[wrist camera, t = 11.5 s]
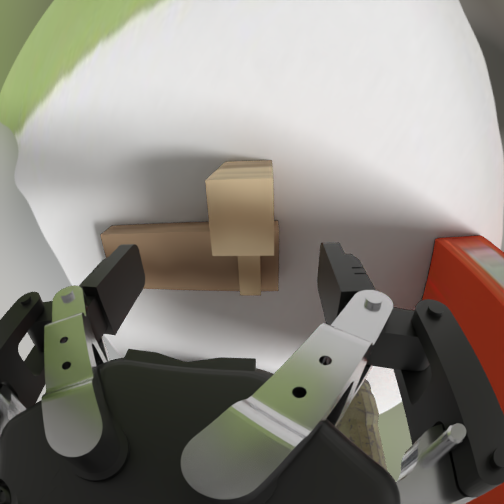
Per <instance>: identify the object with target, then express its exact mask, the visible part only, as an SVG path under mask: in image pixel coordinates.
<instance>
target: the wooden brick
mask: <svg viewBox="0 0 504 504" xmlns="http://www.w3.org/2000/svg"><path fill="white" fill-rule="evenodd" d="M205 184H206V195H207V206H208V217H209V227H210V237H211V246H212V255H213V256H238V270H239V284H240V295H261V263H260V256H274V191H273V169H272V160H259V161H230V162H224V163H223V164H222V165H221V166H220V167H219V168H218V169H217V170H216V171H215V172H214V173H213V174H212V175H211V176H209V177H208V178H207V179H206V180H205Z"/></svg>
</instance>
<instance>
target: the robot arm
mask: <svg viewBox="0 0 504 504" xmlns="http://www.w3.org/2000/svg"><path fill="white" fill-rule="evenodd" d="M317 282H318V291H319V295H320V299H321V303H322V307H323V311H324V316H325V320H326V323H322V324H321V325H320V326H319V327H318V328H317V329H316V330H315V331H314V332H313V333H312V334H311V336H310V337H309V338H308V339H307V340H306V341H305V342H304V343H303V344H302V345H301V346H300V348H299V349H298V350H297V351H296V352H295V353H294V354H293V355H292V356H291V357H290V358H289V359H288V360H287V361H286V362H285V363H284V364H283V365H282V366H281V367H280V368H279V369H278V370H277V371H276V372H275V374H272V373H270V372H267V371H264V370H260V369H256V359H251V358H215V359H208V360H200V361H192V362H184V361H180V360H177V359H174V358H171V357H168V356H165V355H162V354H159V353H156V352H148V351H140V350H133V349H128V351H127V353H126V355H125V357H124V358H119V359H115V360H110V358H109V355H108V352H107V348H106V345H105V341H104V339H103V337H102V336H103V334H111V335H116V333H117V331H118V329H119V328H120V326H121V324H122V323H123V321H124V319H125V317H126V316H127V314H128V312H129V311H130V309H131V307H132V306H133V304H134V302H135V301H136V299H137V298H138V296H139V294H140V293H141V291H142V290H143V288H144V285H145V273H144V269H143V265H142V261H141V256H140V252H139V248H138V246H137V245H136V244H123V245H120V246H118V248H117V249H116V250H115V251H114V252H113V253H112V254H111V255H110V256H109V257H107V258H105V259H104V260H102V261H101V262H100V264H99V265H98V266H97V268H95V269H94V270H93V271H92V273H90V274H89V275H88V277H87V278H86V279H85V280H84V281H83V282H82V283H81V284H80V285H79V286H70V287H66V288H64V289H62V290H60V291H59V292H58V293H56V295H55V296H54V298H53V301H49V302H42V300H41V297H40V295H39V293H37V292H30V293H27V294H25V295H23V296H22V297H20V298H19V299H18V300H17V301H16V302H15V303H14V305H13V306H12V307H11V308H10V309H9V310H8V311H7V313H6V314H5V315H4V316H3V317H2V319H1V320H0V504H466V503H468V502H470V501H472V500H474V499H476V498H478V497H479V496H481V495H483V494H485V493H487V492H489V491H490V490H492V489H494V488H495V487H497V486H499V485H500V484H502V483H504V414H503V411H502V409H501V407H500V404H499V402H498V399H497V397H496V395H495V393H494V390H493V388H492V386H491V384H490V382H489V380H488V377H487V375H486V373H485V371H484V369H483V367H482V365H481V363H480V361H479V359H478V358H477V356H476V354H475V352H474V350H473V348H472V346H471V345H470V343H469V341H468V339H467V338H466V336H465V334H464V332H463V331H462V329H461V327H460V326H459V324H458V322H457V321H456V319H455V317H454V316H453V314H452V312H451V311H450V309H449V308H448V307H447V306H446V305H444V304H443V303H441V302H439V301H436V300H431V299H425V300H422V301H420V302H418V304H417V305H416V308H415V311H412V310H406V309H400V308H396V307H393V302H392V300H391V299H390V298H389V297H388V296H387V295H385V294H384V293H382V292H379V291H376V290H375V288H374V286H373V284H372V283H371V281H370V279H369V277H368V275H367V274H366V271H365V270H364V268H363V266H362V264H361V262H360V261H359V260H358V259H357V258H356V257H354V256H353V255H352V254H345V253H344V251H343V249H342V247H341V245H340V243H321V246H320V256H319V267H318V278H317ZM27 332H28V334H29V335H30V338H31V339H32V341H33V343H34V344H35V346H34V347H33V349H32V350H31V352H30V353H29V355H28V356H27V358H26V360H25V361H23V360H22V358H21V357H20V355H19V353H18V345H19V343H20V341H21V340H22V338H23V337H24V336H25V334H26V333H27ZM372 366H378V367H385V368H392V369H394V373H395V376H396V379H397V383H398V387H399V390H400V394H401V398H402V402H403V405H404V409H405V413H406V417H407V422H408V426H409V430H410V435H411V440H412V446H411V447H410V448H409V449H408V450H407V451H406V452H405V454H404V456H403V458H402V462H401V474H400V477H399V479H398V480H397V482H395V480H394V479H393V478H392V476H391V475H390V474H389V472H388V471H386V470H385V469H384V468H383V467H382V466H380V465H379V464H378V463H377V462H376V461H374V460H373V459H372V458H371V457H370V456H368V455H367V454H366V453H365V452H364V451H363V450H361V449H360V448H359V447H358V446H357V445H356V444H354V443H353V442H352V441H351V440H350V439H349V438H348V437H346V436H345V435H344V434H343V433H342V432H341V431H340V430H339V429H337V428H336V426H337V425H338V423H339V422H340V420H341V419H342V417H343V415H344V414H345V412H346V410H347V408H348V406H349V405H350V403H351V401H352V400H353V398H354V396H355V395H356V393H357V392H358V390H359V388H360V387H361V385H362V383H363V382H364V380H365V378H366V376H367V375H368V373H369V371H370V369H371V368H372ZM45 384H46V393H45V394H44V395H43V396H42V400H41V401H39V402H37V403H36V401H37V399H38V397H39V395H40V393H41V391H42V389H43V387H44V386H45ZM35 403H36V404H35Z"/></svg>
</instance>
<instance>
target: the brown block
mask: <svg viewBox="0 0 504 504" xmlns="http://www.w3.org/2000/svg"><path fill="white" fill-rule="evenodd" d="M101 240H102V244H103V247H104V251H105V255H106V258H107V257H109V256H110V255H111V254H112V253H113V252H114V251H115V250H116V249H117V248H118V246H120V245H123V244H136V245H137V246H138V248H139V252H140V256H141V261H142V265H143V269H144V273H145V285H144V289H170V290H207V291H240V284H239V270H238V256H213V255H212V246H211V237H210V227H209V222H185V223H158V224H135V225H116V226H111V227H109V228H108V229H107V230H106V231H104V232H103V233H102V234H101ZM260 263H261V291H278V276H279V226H278V221H274V256H260Z"/></svg>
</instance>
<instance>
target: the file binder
mask: <svg viewBox="0 0 504 504" xmlns="http://www.w3.org/2000/svg"><path fill="white" fill-rule="evenodd" d="M425 299H431V300H436V301H439V302H441V303H443V304H444V305H446V306H447V307H448V308H449V309H450V311H451V312H452V314H453V316H454V317H455V319H456V321H457V322H458V324H459V326H460V327H461V329H462V331H463V332H464V334H465V336H466V338H467V339H468V341H469V343H470V345H471V346H472V348H473V350H474V352H475V354H476V356H477V358H478V359H479V361H480V363H481V365H482V367H483V369H484V371H485V373H486V375H487V377H488V380H489V382H490V384H491V386H492V388H493V390H494V393H495V395H496V397H497V399H498V402H499V404H500V407H501V409H502V411H503V414H504V252H502V251H501V250H500V249H499V248H497V247H496V246H495V245H494V244H492V243H491V242H490V241H488V240H487V239H486V238H484V237H483V236H464V237H448V238H438V239H435V245H434V250H433V255H432V260H431V265H430V270H429V274H428V279H427V283H426V287H425V291H424V295H423V298H422V300H425ZM466 504H504V483H502V484H500V485H499V486H497V487H495V488H494V489H492V490H490V491H489V492H487V493H485V494H483V495H481V496H479V497H478V498H476V499H474V500H472V501H470V502H468V503H466Z"/></svg>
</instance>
